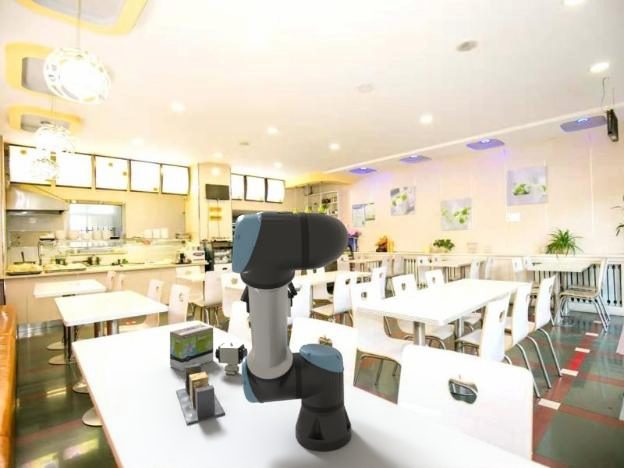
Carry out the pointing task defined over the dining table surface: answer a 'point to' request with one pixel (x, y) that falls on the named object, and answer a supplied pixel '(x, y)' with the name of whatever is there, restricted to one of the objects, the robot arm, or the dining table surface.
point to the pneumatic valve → (231, 356)
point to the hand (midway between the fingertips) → (270, 319)
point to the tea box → (191, 346)
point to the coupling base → (198, 399)
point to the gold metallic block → (197, 384)
